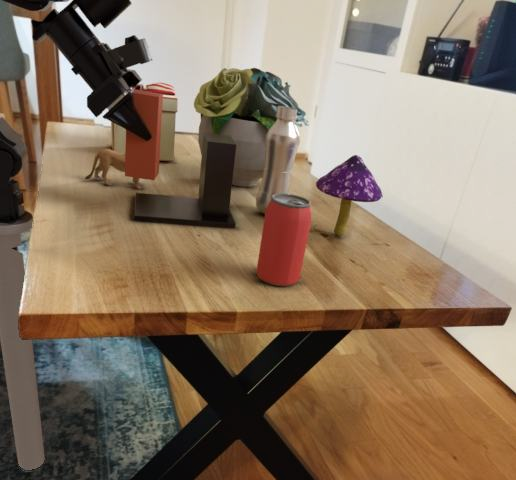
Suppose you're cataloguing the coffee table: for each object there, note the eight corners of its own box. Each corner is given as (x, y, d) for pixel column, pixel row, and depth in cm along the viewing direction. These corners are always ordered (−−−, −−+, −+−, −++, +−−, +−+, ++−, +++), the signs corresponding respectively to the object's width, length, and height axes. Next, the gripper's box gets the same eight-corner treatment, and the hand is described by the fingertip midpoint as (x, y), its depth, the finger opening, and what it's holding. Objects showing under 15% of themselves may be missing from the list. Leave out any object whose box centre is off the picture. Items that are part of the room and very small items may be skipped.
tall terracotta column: (124, 176, 86) (126, 91, 79) (130, 169, 91) (132, 88, 84) (154, 180, 86) (159, 96, 80) (158, 173, 91) (163, 93, 85)
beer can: (285, 292, 72) (301, 210, 66) (247, 277, 75) (258, 196, 69) (306, 279, 78) (322, 201, 71) (269, 265, 80) (282, 189, 74)
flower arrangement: (253, 168, 137) (267, 66, 124) (310, 196, 120) (332, 81, 107) (169, 168, 124) (174, 54, 111) (219, 200, 107) (232, 69, 94)
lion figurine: (156, 183, 111) (158, 140, 106) (158, 190, 106) (159, 145, 102) (85, 178, 107) (84, 132, 102) (84, 185, 102) (82, 138, 98)
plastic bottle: (257, 206, 107) (272, 103, 96) (289, 213, 106) (307, 109, 96) (251, 215, 101) (266, 106, 91) (284, 221, 100) (303, 112, 90)
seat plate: (134, 221, 89) (135, 136, 82) (135, 197, 100) (136, 121, 93) (235, 228, 93) (245, 148, 86) (225, 205, 104) (233, 133, 97)
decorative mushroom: (300, 238, 94) (317, 153, 86) (312, 220, 104) (328, 143, 96) (367, 253, 92) (390, 168, 84) (372, 233, 102) (393, 156, 94)
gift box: (161, 146, 144) (163, 78, 135) (179, 163, 130) (183, 89, 121) (98, 142, 137) (97, 71, 128) (111, 160, 123) (110, 81, 114)
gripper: (109, 11, 68) (185, 112, 75) (130, 14, 84) (191, 98, 91) (52, 67, 71) (130, 159, 78) (82, 60, 87) (145, 137, 94)
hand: (152, 135), depth 85 cm, fingers closed on tall terracotta column, 6 cm apart
